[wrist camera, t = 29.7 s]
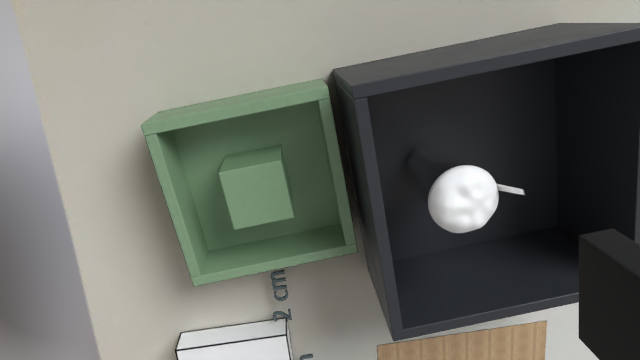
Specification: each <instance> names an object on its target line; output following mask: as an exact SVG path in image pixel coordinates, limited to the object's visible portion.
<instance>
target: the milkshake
mask: <svg viewBox="0 0 640 360" xmlns="http://www.w3.org/2000/svg"><path fill="white" fill-rule="evenodd" d="M407 172H408V174H409V176H410V177H411V179H412V181H413V183H414V184H415V186H416V188H417V190H418V191H419V193H420V195H421V197H422V199H423V201H424V203H425V205H426V207H427V209H428V211H429V213H430V215H431V217H432V218H433V220H434V221H435V222H436V223H437V224H438V225H439V226H440V227H442V228H443V229H445V230H447V231H449V232H453V233H466V232H469V231H473V230H476V229H479V228H481V227H482V226H484V225H485V224H486V223H487V221H488V220H489V219H490V217H491V216H492V215H493V213H494V212H495V210H496V208H497V205H498V199H499V195H498V190H499V191H504V192H509V193H514V194H518V195H523V196H525V193H524V190H523V189H521V188H516V187H511V186H506V185H500V184H496V182H495V180H494V179H493V177H492V176H491V175H490V174H489V173H488V172H487V171H485V170H484V169H482V168H479V167H477V166H475V165H473V164H471V163H469V162H466V161H464V160H462V159H461V158H459V157H457V156H455V155H453V154H451V153H449V152H448V151H446V150H444V149H442V148H440V147H437V146H433V145H429V144H425V145H423V146H420V147H418V148H415V149H414V150H413V152H412V153H411V155H410V156H409V157H408V159H407Z"/></svg>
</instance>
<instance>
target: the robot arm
mask: <svg viewBox="0 0 640 360" xmlns="http://www.w3.org/2000/svg"><path fill="white" fill-rule="evenodd" d="M579 339H580V340H581V341H582V342H583V343H584V344H585V345H586V346H587V347H588V348H589V349H590V350H591V351H592V352H593V353H594V354H595V355H596V356H597V358H598V359H599V360H640V245H639V244H637V243H636V242H634V241H633V240H631V239H629V238H628V237H626V236H625V235H623V234H621V233H620V232H618V231H616V230H615V229H613V228H612V229H607V230H602V231H598V232H593V233H588V234H583V235H579Z"/></svg>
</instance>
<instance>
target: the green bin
mask: <svg viewBox="0 0 640 360" xmlns="http://www.w3.org/2000/svg"><path fill="white" fill-rule="evenodd" d="M141 127H142V130H143V133H144V136H145V139H146V142H147V145H148V148H149V151H150V154H151V157H152V160H153V163H154V167H155V170H156V173H157V176H158V179H159V182H160V185H161V188H162V191H163V194H164V197H165V200H166V203H167V206H168V209H169V212H170V215H171V218H172V221H173V225H174V228H175V231H176V234H177V237H178V240H179V243H180V246H181V249H182V252H183V255H184V258H185V261H186V264H187V267H188V270H189V273H190V276H191V280H192V283H193V286H199V285H204V284H208V283H213V282H218V281H223V280H227V279H232V278H237V277H242V276H247V275H251V274H256V273H261V272H266V271H270V270H275V269H280V268H285V267H290V266H294V265H299V264H304V263H309V262H313V261H318V260H323V259H328V258H333V257H337V256H342V255H347V254H352V253H356V252H358V249H357V243H356V237H355V232H354V226H353V221H352V215H351V210H350V205H349V199H348V194H347V188H346V183H345V177H344V172H343V166H342V161H341V155H340V150H339V144H338V139H337V133H336V128H335V122H334V117H333V111H332V106H331V100H330V95H329V89H328V86H327V85H326V84H325V82H324V81H323V79H317V80H312V81H307V82H302V83H297V84H293V85H288V86H283V87H278V88H273V89H268V90H263V91H258V92H253V93H248V94H243V95H239V96H234V97H229V98H224V99H219V100H214V101H209V102H204V103H199V104H194V105H189V106H185V107H180V108H175V109H170V110H165V111H160V112H158V113H156V114H155V115H154V116H152V117H151V118H149V119H148V120H147V121H145V122H144V123H142V124H141ZM276 145H281V146H282V150H283V154H284V159H285V163H286V168H287V172H288V177H289V181H290V185H291V190H292V194H293V206H294V218H290V219H285V220H280V221H275V222H270V223H266V224H261V225H256V226H251V227H246V228H242V229H237V230H234V228H233V225H232V221H231V217H230V214H229V210H228V207H227V203H226V200H225V196H224V192H223V189H222V185H221V182H220V178H219V174H218V173H219V171H220V168H221V166H222V163H223V161H224V159H225V156H227V155H232V154H237V153H241V152H246V151H251V150H256V149H261V148H266V147H271V146H276Z"/></svg>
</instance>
